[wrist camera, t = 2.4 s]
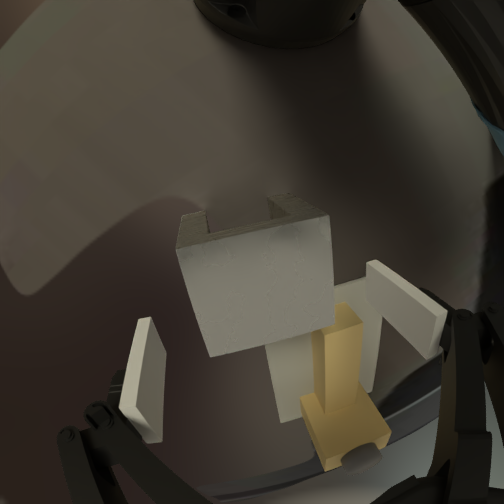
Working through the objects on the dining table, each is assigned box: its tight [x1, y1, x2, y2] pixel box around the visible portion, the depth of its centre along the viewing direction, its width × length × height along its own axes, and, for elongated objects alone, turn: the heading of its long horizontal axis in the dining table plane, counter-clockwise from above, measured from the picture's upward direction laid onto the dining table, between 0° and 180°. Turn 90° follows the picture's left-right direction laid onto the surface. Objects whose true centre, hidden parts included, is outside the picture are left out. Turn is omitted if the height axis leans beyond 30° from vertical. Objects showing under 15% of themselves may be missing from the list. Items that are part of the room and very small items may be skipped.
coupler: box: [300, 302, 391, 476], centre depth 26 cm, size 17×8×12 cm, turn 10°
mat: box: [264, 277, 382, 423], centre depth 31 cm, size 20×14×1 cm
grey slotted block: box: [176, 193, 335, 357], centre depth 21 cm, size 8×9×8 cm
